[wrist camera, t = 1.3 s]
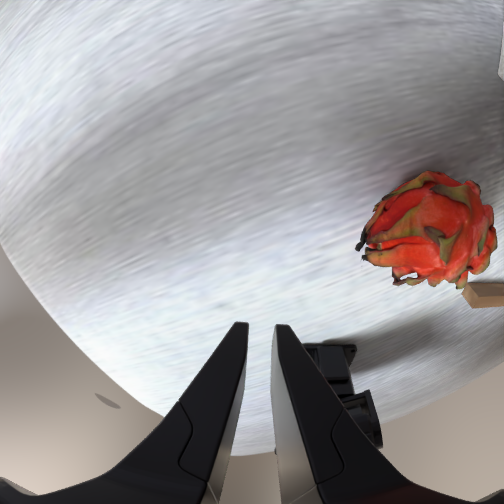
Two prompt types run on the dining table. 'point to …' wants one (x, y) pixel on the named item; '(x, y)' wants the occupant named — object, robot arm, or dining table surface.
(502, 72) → the light bulb box
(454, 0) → the dining table surface
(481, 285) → the frame
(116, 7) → the dining table surface
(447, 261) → the dragon fruit
